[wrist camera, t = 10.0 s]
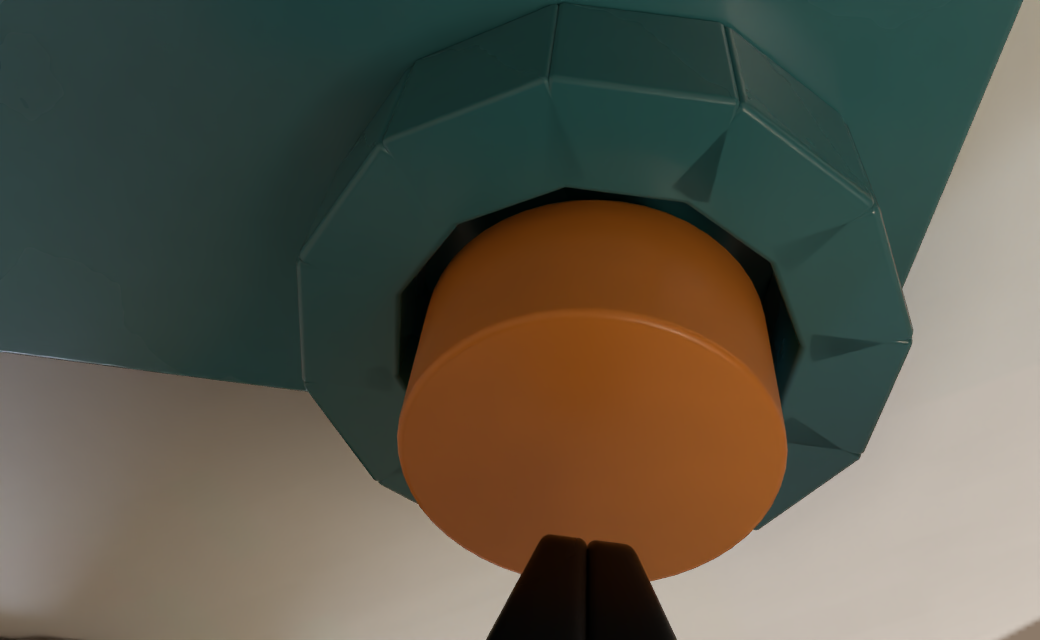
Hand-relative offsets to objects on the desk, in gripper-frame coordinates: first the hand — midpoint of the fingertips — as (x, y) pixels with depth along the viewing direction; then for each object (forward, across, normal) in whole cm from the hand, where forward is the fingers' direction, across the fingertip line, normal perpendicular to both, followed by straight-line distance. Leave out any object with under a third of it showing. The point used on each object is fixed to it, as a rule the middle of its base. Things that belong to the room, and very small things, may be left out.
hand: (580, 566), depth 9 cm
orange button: (+3, 0, 0) cm, 3 cm away
